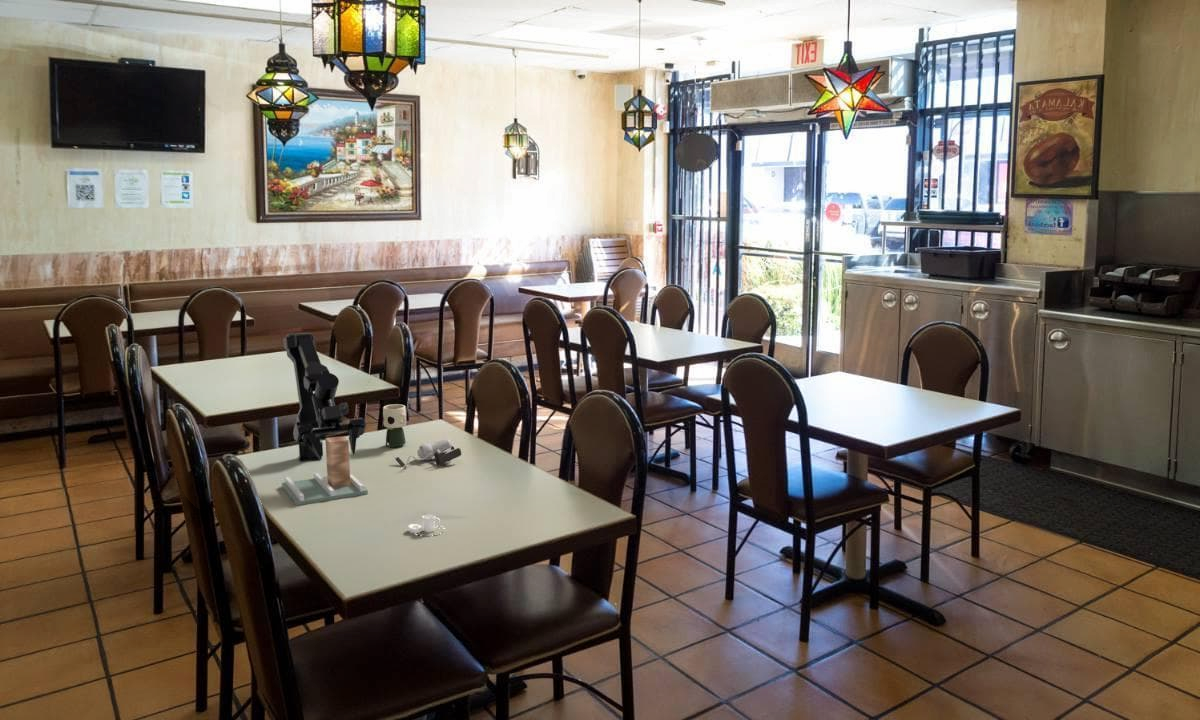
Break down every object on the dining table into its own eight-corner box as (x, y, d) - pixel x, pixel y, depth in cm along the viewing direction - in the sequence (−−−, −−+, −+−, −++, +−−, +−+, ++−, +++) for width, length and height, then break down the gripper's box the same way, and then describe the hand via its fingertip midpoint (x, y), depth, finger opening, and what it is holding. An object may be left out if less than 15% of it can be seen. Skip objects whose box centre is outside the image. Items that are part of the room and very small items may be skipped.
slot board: (281, 486, 265) (281, 478, 265) (349, 476, 274) (349, 468, 274) (296, 505, 250) (296, 496, 249) (367, 493, 259) (367, 485, 259)
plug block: (332, 488, 261) (330, 442, 258) (327, 483, 265) (325, 438, 262) (350, 485, 263) (348, 440, 261) (345, 480, 267) (343, 435, 265)
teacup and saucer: (403, 535, 230) (402, 519, 229) (420, 524, 237) (420, 509, 237) (434, 540, 227) (434, 524, 226) (451, 529, 234) (450, 513, 233)
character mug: (376, 445, 307) (374, 406, 305) (393, 440, 312) (392, 402, 310) (397, 451, 300) (396, 411, 298) (415, 446, 306) (413, 407, 303)
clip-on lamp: (407, 481, 280) (464, 460, 287) (402, 462, 278) (459, 441, 285) (395, 467, 290) (450, 447, 297) (390, 448, 288) (446, 429, 295)
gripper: (295, 397, 259) (307, 446, 252) (362, 389, 268) (376, 436, 261) (290, 418, 267) (301, 466, 260) (356, 411, 276) (368, 457, 269)
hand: (337, 456), depth 262 cm, fingers open, 9 cm apart
